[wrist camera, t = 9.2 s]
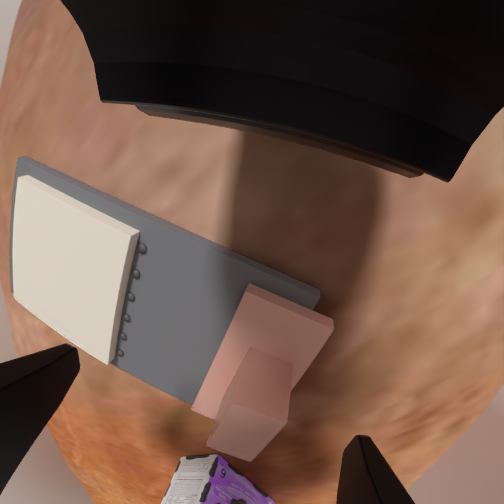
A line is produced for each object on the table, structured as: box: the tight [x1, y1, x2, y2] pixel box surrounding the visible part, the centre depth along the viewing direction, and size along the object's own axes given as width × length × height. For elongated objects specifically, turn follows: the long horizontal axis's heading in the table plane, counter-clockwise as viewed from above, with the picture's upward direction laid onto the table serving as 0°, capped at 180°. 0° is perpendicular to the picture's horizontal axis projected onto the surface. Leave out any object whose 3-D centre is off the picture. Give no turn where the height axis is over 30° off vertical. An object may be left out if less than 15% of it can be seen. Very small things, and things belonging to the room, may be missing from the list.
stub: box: [191, 283, 334, 462], centre depth 17 cm, size 6×12×6 cm, turn 157°
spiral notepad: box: [12, 175, 147, 365], centre depth 20 cm, size 13×12×1 cm
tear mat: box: [10, 156, 321, 405], centre depth 21 cm, size 26×14×1 cm, turn 67°
